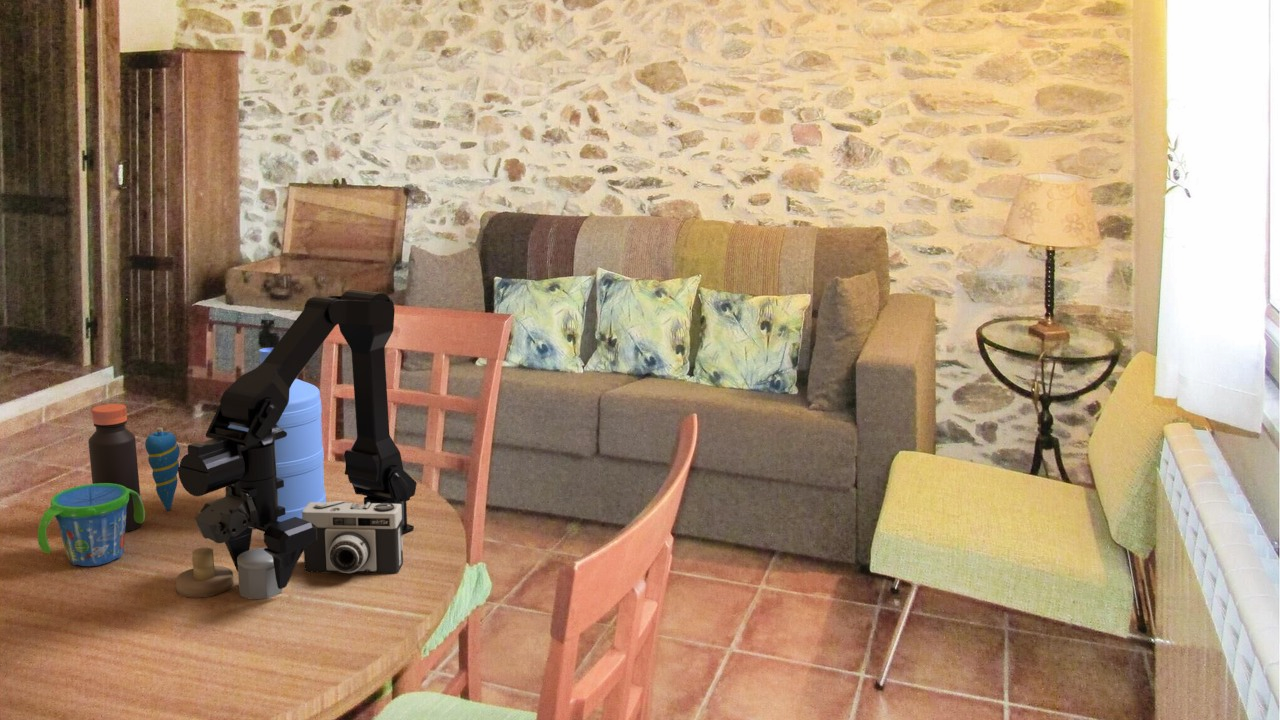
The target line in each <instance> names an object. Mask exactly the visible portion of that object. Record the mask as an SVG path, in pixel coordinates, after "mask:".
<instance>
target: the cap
mask: <svg viewBox="0 0 1280 720" xmlns="http://www.w3.org/2000/svg"><path fill="white" fill-rule="evenodd" d="M265 548H266V547H259V548H253V549H249V550H248V551H246V552H243V553H241V554H240V555H239V556H238V557H237V563H238V572H237V576H238V577H237V578H238V590H239V596H241V597H243V598H246V599H248V600H264V599H265V600H266V599H270V598H272V597H275V596H277V595H280V594H282V592H283V589H284V588H282V589H279V588H278V586H277V581H276V576H275V569H274V562H273V557H272V556H271V555H270V554H269V553H267V552H266V551H265V550H264V549H265ZM279 593H280V594H279Z"/></svg>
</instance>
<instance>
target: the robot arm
mask: <svg viewBox="0 0 1280 720" xmlns="http://www.w3.org/2000/svg"><path fill="white" fill-rule="evenodd" d="M337 325H338V327H339V332H340V333H341V335H342V337H343V338H344V340H345V342H346V343H347V345H348V346H349V348H350V351H351V365H352V377H353V378H352V381H353V394H354V396H353V397H354V408H355V409H354V410H355V411H354V412H355V424H356V439H355V441H354V443H353V445H352V446H351V448H350V449H346V450H345V451H344V454H343V455H344V456H343V457H344V462H345V470H344V475H346V476H347V478H348V482H349V483H350V484H351V485H352V488H353V490H354V493H355V495H360V496H364V497H363V505H366V504H367V502H370V503H390V504H401V506H402V535H403V534H405V533H408V532H411V531H413V530H415V529H414V528H415V526H414V525H412V524H408V515H407V512H408V509H407V502H409V501H411V498H412V497H414V496H415V495H416V489H417V485H418V484H417V481H416V480H415V479H413V477H411V475H410V474H408V473H407V472H406V471H405V470H404V465H403V460H402V455H401V451H400V450H399V448H398V447H397V445H396V443H395V442H394V439H392V437H391V433H390V422H389V421H390V420H389V404H388V402H389V401H388V389H387V388H388V387H387V370H386V352H385V349H386V345H387V343H388V342H389V340H390V338H391V336H392V335H393V332H394V325H395V304H394V301H393V299H392V298H390V297H389V296H388V294H386V293H384V292H375V291H369V290H362V289H348V290H346V291H344V292H343V294H342V295H325V296H319V295H315V296H312V297H309V298H308V299H307V300H306V302H305V304H304V308H303V310H302V312H301V313H300V314H299V315H298V316H297V318H296V319H295V320H294V321H293V323H292V324H291V326H290V327H289V328H288V329H287V331H286V332H285V333H284V334H283V335H282V337H281V338H280V340H279V341H278V342H277V344H276V345H274V347H273V348H274V349H273V350H272V351H271V352H270V354H269V355H268V356H267V358H266V359H265V360H264V361H263V363H261V364H260V363H259V365H258V366H257V367H255V368H254V369H252V370H250V371H247V372H245V373H244V374H242V375H241V376H239V377H238V378H237V379H236V380H235V381H234V382H233V383H232V384H231V385H230V386H228V387H227V388H226V389H225V391H224V392H223V393H222V396H221V397H220V401H219V403H220V404H219V406H218V408H217V410H216V411H215V414H214V416H213V418H212V420H211V422H210V424H209V427H208V428H207V431H206V433H205V437H206V438H207V439H208V440H205V441H202V442H193V443H190V444H188V445H187V454H185V455H184V456H183V457H182V458H181V460H180V462H179V467H178V472H177V475H178V478H179V482H180V483H181V485H182V487H183V488H184V490H185V491H186V492H187V493H188V494H190V495H191V496H193V497H202V496H204V495H207V494H210V493H213V492H216V491H218V490H221V489H224V488H225V496H224V497H221V498H217V499H216V500H215V499H214V500H212V501H209V502H205V504H204V505H203V507H202V508H201V510H200V512H199V513H198V514H197V515H195V517H194V520H195V523H196V525H197V526H198V529H199V531H200V533H201V535H202V538H204V539H205V540H206V539H208V540H211V541H213V542H215V543H216V544H223V543H224V544H225V546H226V548H227V550H228V553H229V555H230V557H231V560H232V562H233V564H234V565H233V566H234V567H235V569H236V572H237V573H238V563H237V557H238V556H239V555H240V554H241V553H243V552H246V551H248V550H251V549H250V548H251V541H252V534H253V529H254V530H257V531H260V532H263V543H264V545H265V546H266V547H264V548H265V549H264V550H265V551H266V552H267V553H269V554H270V555H271V556H272V557H273V562H274V569H275V576H276V581H277V586H278V588H279V589H282V588H283V589H286V587H287V586H288V583H289V581H290V580H291V577H292V575H293V573H294V571H295V567H296V566H297V563H298V562H299V560H300V557H301V556H302V554H303V553H304V549H305V547H306V546H309V545H311V543H313V542H316V541H317V526H315V525H314V524H313V523H311V522H309V521H306V520H303V519H300V518H297V517H293V518H290V519H288V520H285V521H282V522H280V521H277V519H278V517H280V516H282V515H285V508H284V507H282V506H279V505H278V489H279V488H282V487H284V480H282V479H279V478H277V470H276V453H275V440H278V439H281V438H284V437H286V436H287V432H285V431H284V430H282V429H280V428H279V427H278V426H277V425H276V424H277V422H278V421H279V419H280V417H281V415H282V414H283V412H284V410H285V408H286V406H287V405H288V402H289V390H290V387H291V385H292V383H293V382H294V380H295V379H298V376H299V375H300V374H301V372H302V371H303V370H304V369H305V367H306V366H307V364H308V363H309V362H310V360H312V358H313V356H314V355H315V354H316V352H318V350H319V349H320V347H321V346H322V345H323V343H324V342H325V340H326V339H327V338H328V337H329V335H330V334H331V332H332V331H333V330H334V329H335V327H336V326H337ZM230 424H231V425H235V426H240V427H244V428H249V430H248V432H246V431H242V430H237V429H233V428H228V426H229V425H230ZM283 589H282V590H283Z"/></svg>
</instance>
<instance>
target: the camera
mask: <svg viewBox="0 0 1280 720" xmlns="http://www.w3.org/2000/svg"><path fill="white" fill-rule="evenodd" d="M302 519H303V520H306V521H309V522H311V523H313V524H314V525H315V526H317V541H316V542H313V543H311V545H309V546H306V547H305V549H304V551H303V561H304V572H305V571H306V572H305V573H321V572H332V573H333V574H338V573H339V574H373V573H375V574H376V573H377V574H380V575H383V574H385V575H386V574H387V575H397V574H399V572H400V570H401V568H402V566H403V565H404V553H403V551H404V550H403V549H404V545H403V541H404V540H403V534H402V506H401V504H390V503H370V502H367V504H366V505H364V504H359V503H358V502H357V501H355V502H350V501H344V500H335V501H329V502H328V501H326V503H325V502H310V503H308V505H307V506H306V507H305V508H304V510H303V511H302ZM377 574H376V575H377Z"/></svg>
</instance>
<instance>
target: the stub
mask: <svg viewBox="0 0 1280 720" xmlns="http://www.w3.org/2000/svg"><path fill="white" fill-rule="evenodd" d="M191 555H192V556H191V557H192V568H190V569H187V570H185V571H183V572H181V573H179V574H178V575H177V576H176V578H175V589H176V593H177V594H178V595H180V596H182V597H184V598H190V599H191V598H193V599H197V598H198V599H199V598H208V597H213V596H217V595H220V594H223V593H225V592H227V591H228V590H230V589H231V588H232V587H233V586H234V572H233V569H231V568H229V567H227V566H221V565H215V558H214V556H215V555H214V549H213V548H211V547H200V548H196V549H194V550H193V551H192V552H191Z"/></svg>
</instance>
